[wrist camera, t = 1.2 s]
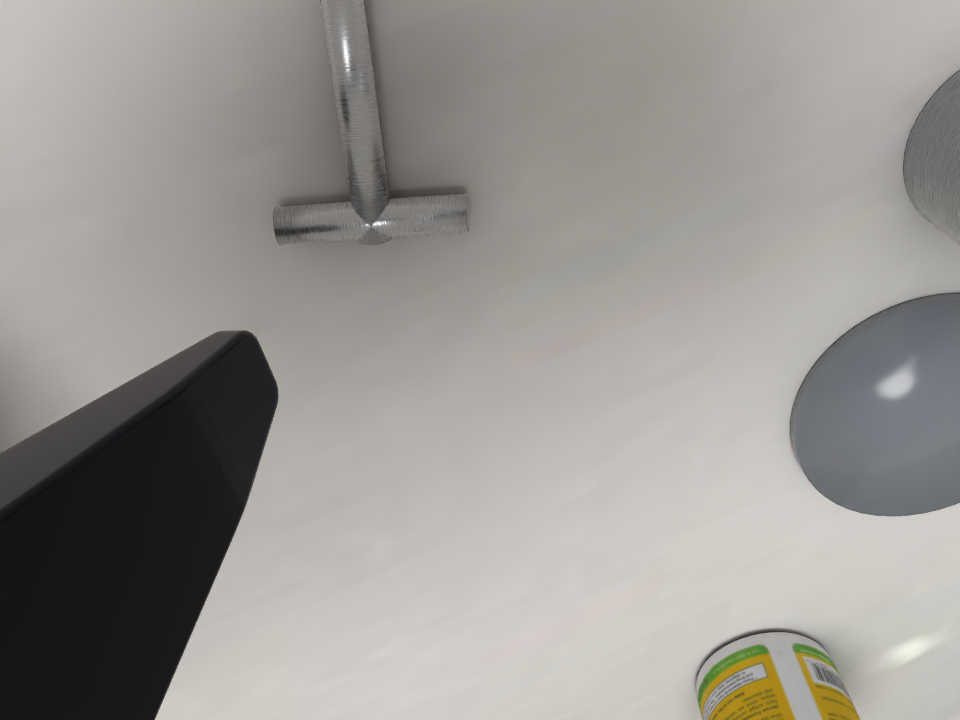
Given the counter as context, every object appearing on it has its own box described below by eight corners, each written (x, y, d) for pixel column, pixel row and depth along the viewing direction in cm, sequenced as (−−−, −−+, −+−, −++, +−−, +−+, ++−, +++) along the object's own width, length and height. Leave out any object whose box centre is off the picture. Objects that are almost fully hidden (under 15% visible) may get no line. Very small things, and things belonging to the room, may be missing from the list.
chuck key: (468, 223, 23) (469, 250, 21) (285, 236, 23) (272, 264, 21) (439, -164, 18) (437, -166, 16) (207, -147, 18) (184, -147, 16)
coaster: (957, 524, 29) (966, 536, 28) (747, 476, 27) (752, 488, 27) (1109, 330, 25) (1123, 340, 24) (872, 263, 23) (881, 273, 23)
